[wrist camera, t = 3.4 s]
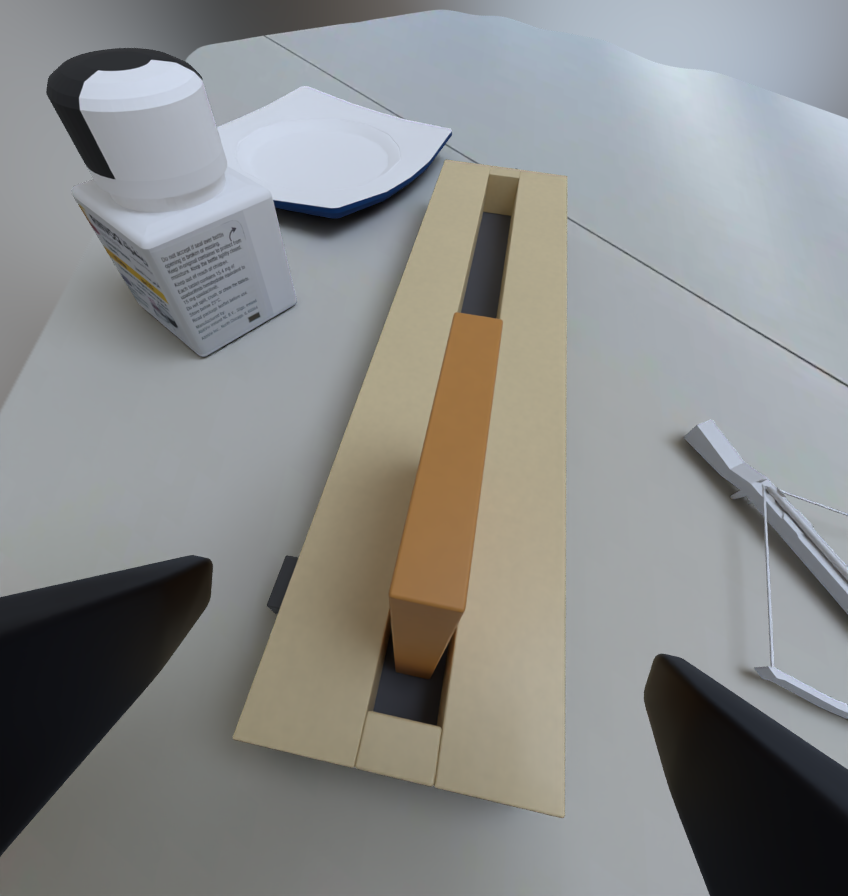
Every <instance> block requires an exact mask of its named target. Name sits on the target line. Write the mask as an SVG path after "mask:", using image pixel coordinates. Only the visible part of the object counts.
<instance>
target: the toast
mask: <svg viewBox="0 0 848 896" xmlns="http://www.w3.org/2000/svg"><path fill="white" fill-rule="evenodd" d="M502 328H503V320H501V319H496V318H490V317H484V316H477V315H471V314H465V313H459V312H455V313H454V315H453V320H452V324H451V328H450V332H449V337H448V341H447V345H446V349H445V354H444V358H443V362H442V367H441V371H440V375H439V379H438V384H437V388H436V392H435V396H434V401H433V405H432V409H431V413H430V418H429V422H428V426H427V430H426V435H425V439H424V443H423V448H422V452H421V456H420V460H419V465H418V469H417V473H416V477H415V482H414V486H413V490H412V494H411V499H410V503H409V507H408V512H407V516H406V520H405V524H404V529H403V533H402V537H401V541H400V546H399V550H398V554H397V558H396V563H395V567H394V571H393V576H392V580H391V584H390V588H389V593H388V596H389V606H390V617H391V628H392V638H393V649H394V660H395V670H396V672H397V673H402V674H406V675H411V676H415V677H420V678H424V679H430V678H431V676H432V674H433V672H434V670H435V668H436V666H437V664H438V662H439V660H440V658H441V656H442V655H443V653H444V651H445V649H446V647H447V645H448V643H449V641H450V639H451V637H452V635H453V633H454V631H455V629H456V627H457V625H458V623H459V621H460V619H461V617H462V615H463V613H464V611H465V609H466V602H467V594H468V586H469V579H470V571H471V563H472V556H473V548H474V541H475V533H476V525H477V518H478V510H479V503H480V495H481V487H482V480H483V472H484V465H485V457H486V449H487V442H488V434H489V426H490V419H491V411H492V404H493V396H494V388H495V381H496V373H497V366H498V358H499V350H500V343H501V335H502Z"/></svg>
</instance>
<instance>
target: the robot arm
mask: <svg viewBox="0 0 848 896" xmlns="http://www.w3.org/2000/svg"><path fill="white" fill-rule="evenodd" d="M212 572H213V564H212V561H211V560H210V559H208V558H204V557H199V556H195V555H190V556H185V557H180V558H176V559H171V560H167V561H162V562H158V563H153V564H149V565H144V566H140V567H135V568H131V569H126V570H122V571H117V572H113V573H108V574H104V575H99V576H94V577H90V578H85V579H81V580H76V581H72V582H67V583H63V584H58V585H54V586H49V587H45V588H40V589H36V590H31V591H27V592H22V593H18V594H13V595H9V596H4V597H0V856H1V855H2V854H3V852H4V851H5V850H6V849H7V848H8V847H9V846H10V844H11V843H12V842H13V841H14V840H15V839H16V838H17V836H18V835H19V834H20V833H21V832H22V831H23V829H24V828H25V827H26V826H27V825H28V824H29V823H30V821H31V820H32V819H33V818H34V817H35V816H36V814H37V813H38V812H39V811H40V810H41V809H42V808H43V806H44V805H45V804H46V803H47V802H48V801H49V799H50V798H51V797H52V796H53V795H54V794H55V793H56V791H57V790H58V789H59V788H60V787H61V786H62V785H63V783H64V782H65V781H66V780H67V779H68V778H69V776H70V775H71V774H72V773H73V772H74V771H75V770H76V768H77V767H78V766H79V765H80V764H81V763H82V761H83V760H84V759H85V758H86V757H87V756H88V755H89V753H90V752H91V751H92V750H93V749H94V748H95V747H96V745H97V744H98V743H99V742H100V741H101V740H102V738H103V737H104V736H105V735H106V734H107V733H108V732H109V730H110V729H111V728H112V727H113V726H114V725H115V723H116V722H117V721H118V720H119V719H120V718H121V717H122V715H123V714H124V713H125V712H126V711H127V710H128V708H129V707H130V706H131V705H132V704H133V703H134V702H135V700H136V699H137V698H138V697H139V696H140V695H141V694H142V692H143V691H144V690H145V689H146V688H147V687H148V685H149V684H150V683H151V682H152V681H153V679H154V678H155V677H156V676H157V675H158V673H159V672H160V671H161V670H162V668H163V667H164V666H165V664H166V663H167V662H168V660H169V659H170V658H171V656H172V655H173V653H174V652H175V651H176V649H177V648H178V646H179V645H180V644H181V642H182V641H183V639H184V638H185V637H186V635H187V634H188V632H189V631H190V630H191V628H192V627H193V625H194V624H195V623H196V621H197V620H198V619H199V617H200V616H201V614H202V613H203V612H204V610H205V609H206V607H207V605H208V603H209V600H210V597H211V586H212ZM644 702H645V707H646V710H647V714H648V717H649V721H650V724H651V728H652V731H653V735H654V738H655V742H656V745H657V749H658V752H659V756H660V759H661V763H662V766H663V770H664V773H665V777H666V780H667V783H668V786H669V789H670V792H671V795H672V798H673V800H674V803H675V806H676V809H677V811H678V814H679V816H680V819H681V822H682V824H683V827H684V829H685V832H686V835H687V837H688V840H689V842H690V845H691V848H692V850H693V853H694V855H695V858H696V861H697V863H698V866H699V868H700V871H701V874H702V876H703V879H704V881H705V884H706V887H707V889H708V892H709V894H710V896H848V769H846V768H845V767H843V766H842V765H840V764H839V763H837V762H836V761H834V760H833V759H831V758H830V757H828V756H827V755H825V754H824V753H822V752H821V751H819V750H818V749H816V748H815V747H813V746H812V745H810V744H809V743H807V742H806V741H804V740H803V739H801V738H800V737H798V736H797V735H796V734H794V733H793V732H791V731H790V730H788V729H787V728H785V727H784V726H782V725H781V724H779V723H778V722H776V721H775V720H773V719H772V718H770V717H769V716H767V715H766V714H764V713H763V712H761V711H760V710H758V709H757V708H755V707H754V706H752V705H751V704H749V703H748V702H746V701H745V700H743V699H742V698H741V697H739V696H738V695H736V694H735V693H733V692H732V691H730V690H729V689H727V688H726V687H724V686H723V685H721V684H720V683H718V682H717V681H715V680H714V679H712V678H711V677H709V676H708V675H706V674H705V673H703V672H702V671H700V670H699V669H697V668H696V667H694V666H693V665H691V664H690V663H688V662H687V661H685V660H684V659H682V658H680V657H676V656H671V655H666V654H659V655H657V656H656V657H655V658H654V661H653V664H652V667H651V670H650V673H649V677H648V680H647V683H646V686H645V690H644Z"/></svg>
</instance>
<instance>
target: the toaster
mask: <svg viewBox="0 0 848 896" xmlns="http://www.w3.org/2000/svg"><path fill="white" fill-rule="evenodd" d="M455 312H459V313H465V314H471V315H477V316H484V317H490V318H496V319H501V320H503V328H502V335H501V343H500V350H499V358H498V366H497V373H496V381H495V388H494V396H493V404H492V411H491V419H490V426H489V434H488V442H487V449H486V457H485V465H484V472H483V480H482V487H481V495H480V503H479V510H478V518H477V525H476V533H475V541H474V548H473V556H472V563H471V571H470V579H469V586H468V594H467V602H466V609H465V611H464V613H463V615H462V617H461V619H460V621H459V623H458V625H457V627H456V629H455V631H454V633H453V635H452V637H451V639H450V641H449V643H448V645H447V647H446V649H445V651H444V653H443V655H442V656H441V658H440V660H439V662H438V664H437V666H436V668H435V670H434V672H433V674H432V676H431V678H430V679H424V678H420V677H415V676H411V675H406V674H402V673H397V672H396V670H395V660H394V649H393V638H392V628H391V617H390V606H389V596H388V593H389V588H390V584H391V580H392V576H393V571H394V567H395V563H396V558H397V554H398V550H399V546H400V541H401V537H402V533H403V529H404V524H405V520H406V516H407V512H408V507H409V503H410V499H411V494H412V490H413V486H414V482H415V477H416V473H417V469H418V465H419V460H420V456H421V452H422V448H423V443H424V439H425V435H426V430H427V426H428V422H429V418H430V413H431V409H432V405H433V401H434V396H435V392H436V388H437V384H438V379H439V375H440V371H441V367H442V362H443V358H444V354H445V349H446V345H447V341H448V337H449V332H450V328H451V324H452V320H453V315H454V313H455ZM566 367H567V176H562V175H555V174H548V173H540V172H533V171H525V170H519V169H512V168H504V167H497V166H489V165H482V164H474V163H467V162H460V161H452V160H445V161H444V164H443V167H442V170H441V172H440V175H439V178H438V180H437V183H436V186H435V189H434V191H433V194H432V197H431V199H430V202H429V205H428V208H427V210H426V213H425V216H424V218H423V221H422V224H421V227H420V229H419V232H418V235H417V237H416V240H415V243H414V246H413V248H412V251H411V254H410V256H409V259H408V262H407V265H406V267H405V270H404V273H403V275H402V278H401V281H400V284H399V286H398V289H397V292H396V294H395V297H394V300H393V303H392V305H391V308H390V311H389V313H388V316H387V319H386V322H385V324H384V327H383V330H382V332H381V335H380V338H379V341H378V343H377V346H376V349H375V352H374V354H373V357H372V360H371V362H370V365H369V368H368V371H367V373H366V376H365V379H364V381H363V384H362V387H361V390H360V392H359V395H358V398H357V400H356V403H355V406H354V409H353V411H352V414H351V417H350V419H349V422H348V425H347V428H346V430H345V433H344V436H343V438H342V441H341V444H340V447H339V449H338V452H337V455H336V457H335V460H334V463H333V466H332V468H331V471H330V474H329V476H328V479H327V482H326V485H325V487H324V490H323V493H322V495H321V498H320V501H319V504H318V506H317V509H316V512H315V514H314V517H313V520H312V523H311V525H310V528H309V531H308V533H307V536H306V539H305V542H304V544H303V547H302V550H301V552H300V555H299V558H297V557H292V556H286V557H285V559H284V562H283V565H282V567H281V570H280V572H279V575H278V578H277V580H276V583H275V585H274V588H273V590H272V593H271V596H270V598H269V601H268V603H267V606H268V607H269V608H270V609H271V610H272V611H273V612H274V613H275V614H278V615H277V618H276V620H275V623H274V626H273V629H272V631H271V634H270V637H269V639H268V642H267V645H266V648H265V650H264V653H263V656H262V658H261V661H260V664H259V667H258V669H257V672H256V675H255V677H254V680H253V683H252V686H251V688H250V691H249V694H248V696H247V699H246V702H245V705H244V707H243V710H242V713H241V715H240V718H239V721H238V724H237V726H236V729H235V732H234V734H233V739H234V740H238V741H242V742H246V743H250V744H254V745H258V746H263V747H267V748H271V749H275V750H279V751H283V752H288V753H292V754H296V755H300V756H304V757H309V758H313V759H317V760H321V761H325V762H329V763H334V764H338V765H342V766H346V767H350V768H354V767H356V768H357V769H359V770H363V771H367V772H372V773H376V774H380V775H384V776H388V777H393V778H397V779H401V780H405V781H409V782H413V783H418V784H422V785H426V786H430V787H431V786H433V785H434V786H435V787H436V788H438V789H442V790H447V791H451V792H455V793H459V794H463V795H468V796H472V797H476V798H480V799H484V800H488V801H493V802H497V803H501V804H505V805H509V806H513V807H518V808H522V809H526V810H530V811H534V812H539V813H543V814H547V815H551V816H555V817H559V818H564V816H565V621H566Z"/></svg>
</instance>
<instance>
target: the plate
mask: <svg viewBox="0 0 848 896" xmlns="http://www.w3.org/2000/svg"><path fill="white" fill-rule="evenodd" d="M217 129H218V133H219V136H220V139H221V143H222V146H223V149H224V152H225V156H226V159H227V166H228V167H230V168H232V169H233V170H235V171H237V172H239V173H240V174H242V175H244V176H246V177H247V178H249V179H251V180H253V181H254V182H256V183H258V184H260V185H261V186H263V187H265V188H267V189H268V190H269V191H270V192H271V194H272V197H273V202H274V206H275V208H279V209H285V210H290V211H295V212H301V213H306V214H311V215H317V216H322V217H327V218H341V217H344V216H346V215H349V214H351V213H354V212H356V211H359V210H362V209H364V208H367V207H369V206H372V205H374V204H377V203H380V202H382V201H384V200H386V199H387V198H389V197H390V196H392V195H393V194H395V193H396V192H398V191H399V190H401V189H402V188H404V187H405V186H407V185H408V184H410V183H411V182H412V181H413V180H414V179H416V178H417V177H418V176H419V175H421V174H422V173H423V172H424V171H425V170H426V169H427V168H428V167H429V165H430V164H431V163H432V161H433V160H434V159H435V157H436V156H437V155H438V153H439V152H440V150H441V149H442V148H443V146H444V145H445V144H446V142H447V141H448V140H449V138H450V137H451V136H452V130H451V129H450V128H445V127H440V126H435V125H430V124H425V123H420V122H415V121H410V120H406V119H402V118H399V117H395V116H392V115H388V114H385V113H381V112H378V111H375V110H372V109H368V108H365V107H362V106H359V105H356V104H353V103H350V102H348V101H345V100H342V99H340V98H337V97H335V96H332V95H329V94H327V93H324V92H322V91H319V90H316V89H314V88H311V87H309V86H302V87H300V88H298V89H296V90H294V91H292V92H291V93H289V94H287V95H285V96H283V97H281V98H280V99H278V100H276V101H274V102H272V103H270V104H268V105H267V106H265V107H263V108H260V109H258V110H256V111H254V112H251V113H249V114H247V115H245V116H242V117H240V118H238V119H235V120H233V121H231V122H228V123H226V124H223V125H221V126H219V127H217Z"/></svg>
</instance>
